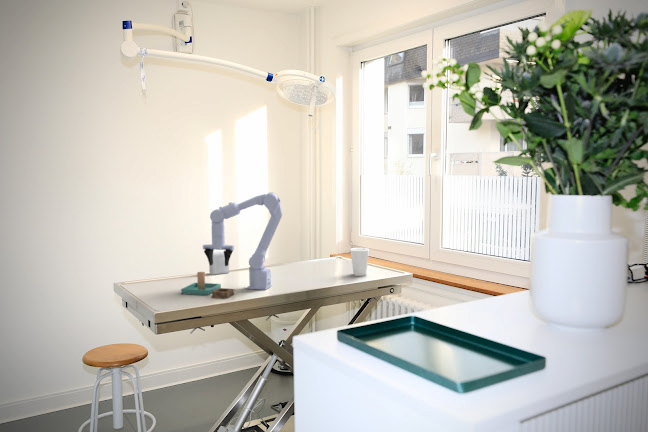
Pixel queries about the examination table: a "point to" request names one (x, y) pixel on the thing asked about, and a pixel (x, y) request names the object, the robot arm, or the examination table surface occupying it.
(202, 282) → the dowel
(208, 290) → the teal tray
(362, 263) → the foam cup
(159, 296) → the examination table surface
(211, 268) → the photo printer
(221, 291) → the walnut holder
